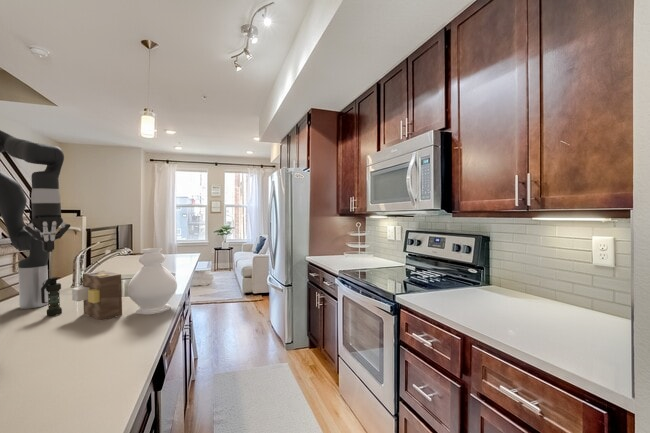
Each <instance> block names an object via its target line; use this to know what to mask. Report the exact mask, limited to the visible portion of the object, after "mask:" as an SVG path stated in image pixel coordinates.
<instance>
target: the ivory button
mask: <svg viewBox="0 0 650 433" xmlns="http://www.w3.org/2000/svg"><path fill="white" fill-rule="evenodd" d="M88 290H90V288H89V287H85V286H84V287H83V286H80V287H73V288H71V294H72V295H71V296H72V299H71V300H72V301H74V302H77V303H78V302H83V300H88Z"/></svg>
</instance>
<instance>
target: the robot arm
mask: <svg viewBox="0 0 650 433" xmlns="http://www.w3.org/2000/svg"><path fill="white" fill-rule="evenodd" d="M3 152H5V153H7V154H8V155H9V156H10V157H12V158H14V159H18V160H23V161H24V162H26V163H29V164H34V165H42V166H43V165H44V166H46V167H45V169H44V170H41V171H40V170H39V171H34V172H32V173H31V176H30V177H31V198H30V202H31V220H30V223H28V224H25V221H24V218H23V217H24V212H25V210H26V206H27V196H26V194H25V192H24V189H23V187H22V185H21V183H19V182H18V181H16V180H15V178H13V177H10V176H9V175H8V174H6V173H5V172H3V171H1V170H0V216H1V217H2V220H3V222H4V225H5V228H6V230H7V234H8V237H9V239H10V240H9V241H10V242H11V245H12V246H13V247H14V248H15V249H16V250H18V251H22V252H23V251H24V252H28V251H29V255H28V257H26V258H23V259H20V260H19V261H18V262H17V265H18V267H17V268H18V270H17V272H18V296H19V301H18V302H19V309H21V310H27V309H28V310H29V309H35V308H41V307H44V306H47V305H48V303H42V301H41V288H42V286H43V283H44V284H45V282H44V281H46V280H47V279H48V278H49V269H48V268H49V267H48V263H49V262H48V261H49V258H50V253H52V252H53V251H54V249H55V241H56V240H58V239H61V238H62V237H63V236H64V235H65V233H66V232H67V231H68V230H69V229H70V228H71V224H69V223H67V222H65V221H64V219H63V218H62V206H61V205H62V204H61V203H62V202H61V193H60V174H61V170H62V167H63V165H64V160H65V154H64V151H63V149H61V148H60V147H59V146H56V145H51V144H46V143H45V144H44V143H40V142H39V143H38V142H34V141H32V140H31V141H30V140H27V139H21V138H18V137H15V136H13V135H11V134H9V133H8V132H6V131H3V130H1V129H0V154H1V153H3ZM58 228H59V229H58ZM57 230H58V231H57ZM44 291H45V302H48V291H46V289H45V290H44Z"/></svg>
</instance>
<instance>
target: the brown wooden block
mask: <svg viewBox="0 0 650 433" xmlns="http://www.w3.org/2000/svg"><path fill="white" fill-rule="evenodd" d="M84 286H85V287H89V288H90V289H99V290H100V302H98V303H91V302H88V300H83V301H82V302H83V315H85V316H88V317H90V318H93V319H95V320H99V321H101V322H104V321H106V320H110V319H113V317H114V318H117V317H120V316H123V299H122V298H123V296H122V294H123V291H122V274H121V273H115V272H110V271H105V270H100V271H92V272H86V273H82V287H84ZM116 316H117V317H116Z"/></svg>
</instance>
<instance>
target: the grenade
mask: <svg viewBox="0 0 650 433" xmlns="http://www.w3.org/2000/svg"><path fill="white" fill-rule="evenodd" d="M58 279H61V277H58V276H55V277H54V276H53V277H50V278H49V277H48V279H47V280H46V281H44V282H45V284H44V283H43V286H42V288H41V301H42V303H48V304H47V305H48V309H46V316H48V317H54V316H55V317H56V316H58V315H61V314H63V309H62V307H61V304H60V303H61V302H60V301H61V300H60V290H62V284H61V283H60V282H59V283H57V282H58ZM45 289H46V291H48V302H45V291H44V290H45Z"/></svg>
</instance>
